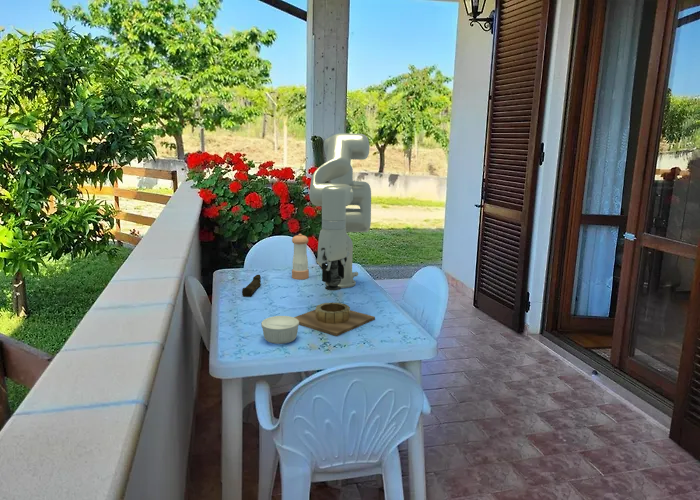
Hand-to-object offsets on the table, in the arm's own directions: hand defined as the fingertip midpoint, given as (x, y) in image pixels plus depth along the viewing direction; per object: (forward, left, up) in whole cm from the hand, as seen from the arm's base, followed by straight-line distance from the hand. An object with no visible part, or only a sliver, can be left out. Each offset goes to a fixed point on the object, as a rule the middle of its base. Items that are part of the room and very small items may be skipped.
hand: (333, 279), depth 168 cm
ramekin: (+22, -2, -14) cm, 26 cm away
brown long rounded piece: (-7, -47, -15) cm, 50 cm away
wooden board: (0, 0, -14) cm, 14 cm away
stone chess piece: (0, 0, -3) cm, 3 cm away
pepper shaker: (-33, -46, -14) cm, 58 cm away
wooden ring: (0, 0, -14) cm, 14 cm away
